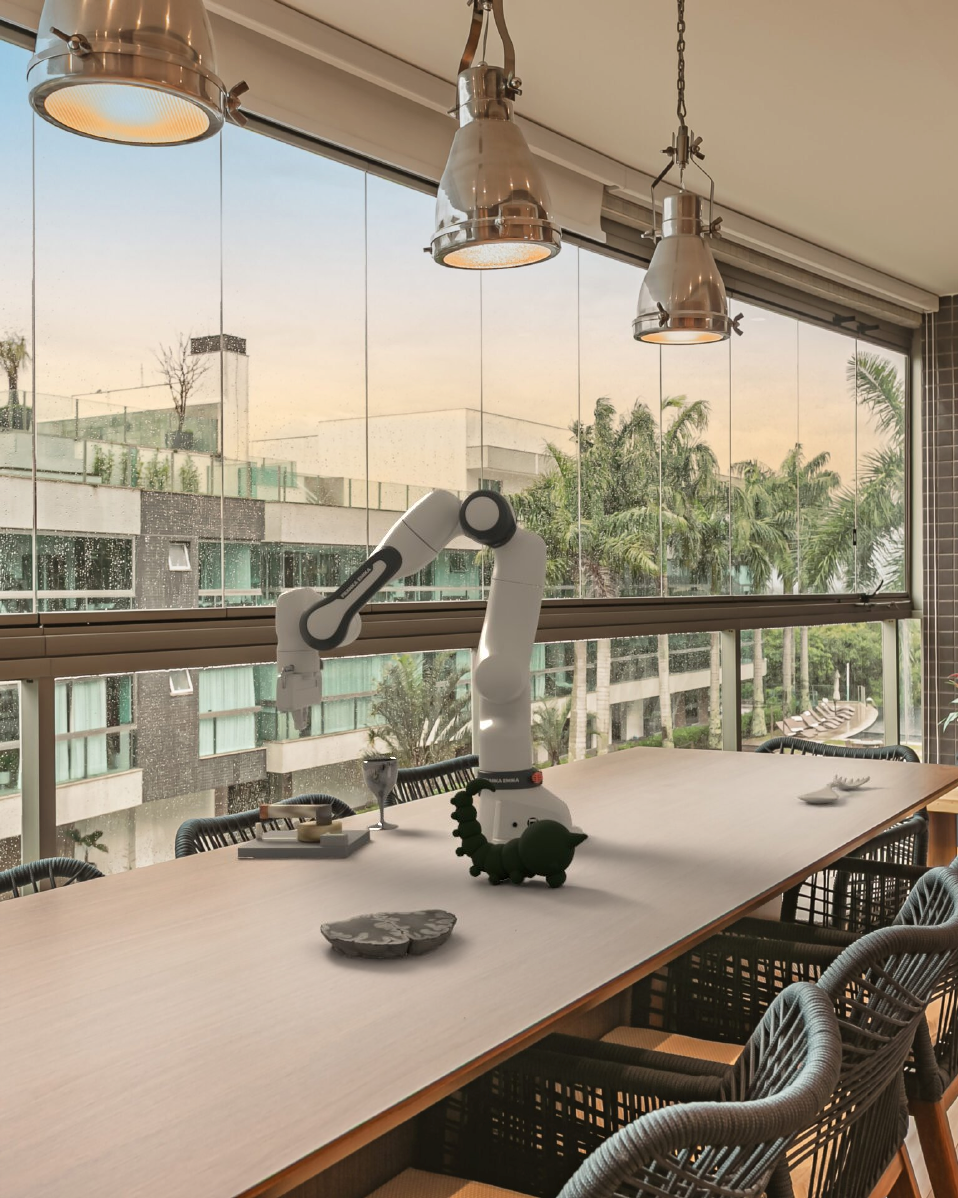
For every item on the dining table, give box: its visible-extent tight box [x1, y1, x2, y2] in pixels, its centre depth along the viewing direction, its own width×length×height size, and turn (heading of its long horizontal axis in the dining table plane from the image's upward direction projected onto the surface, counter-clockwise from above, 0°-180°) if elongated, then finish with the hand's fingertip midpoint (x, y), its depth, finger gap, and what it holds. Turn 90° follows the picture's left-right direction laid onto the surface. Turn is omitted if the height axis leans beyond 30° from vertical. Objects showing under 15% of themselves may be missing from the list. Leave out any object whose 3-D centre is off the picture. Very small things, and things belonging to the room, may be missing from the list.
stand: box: [237, 822, 371, 859], centre depth 230 cm, size 22×18×5 cm
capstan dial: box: [258, 803, 343, 842], centre depth 230 cm, size 17×9×6 cm, turn 76°
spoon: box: [796, 774, 871, 805], centre depth 270 cm, size 9×32×4 cm, turn 144°
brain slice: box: [320, 909, 458, 960], centre depth 159 cm, size 20×17×3 cm
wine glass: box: [361, 756, 399, 831], centre depth 251 cm, size 8×8×15 cm
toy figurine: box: [449, 777, 589, 888], centre depth 193 cm, size 9×19×25 cm
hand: (300, 729), depth 240 cm, fingers closed
